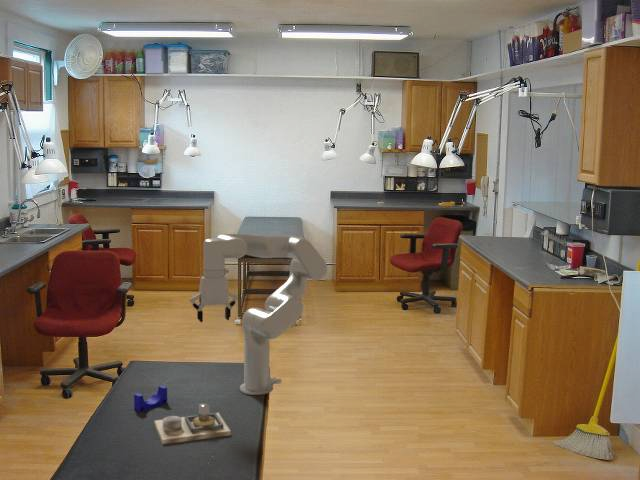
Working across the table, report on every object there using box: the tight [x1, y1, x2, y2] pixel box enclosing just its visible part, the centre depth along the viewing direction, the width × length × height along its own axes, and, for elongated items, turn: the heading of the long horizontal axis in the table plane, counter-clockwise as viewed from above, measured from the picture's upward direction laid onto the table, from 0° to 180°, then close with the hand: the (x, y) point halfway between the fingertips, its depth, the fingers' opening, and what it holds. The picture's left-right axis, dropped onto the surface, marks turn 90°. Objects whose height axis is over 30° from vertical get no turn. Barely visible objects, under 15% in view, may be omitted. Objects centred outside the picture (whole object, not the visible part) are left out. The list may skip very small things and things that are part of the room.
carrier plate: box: [153, 412, 232, 445], centre depth 250 cm, size 22×16×4 cm
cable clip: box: [133, 385, 168, 413], centre depth 269 cm, size 12×4×6 cm, turn 139°
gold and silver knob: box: [193, 403, 215, 427], centre depth 251 cm, size 7×7×6 cm
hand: (214, 320), depth 271 cm, fingers open, 9 cm apart
